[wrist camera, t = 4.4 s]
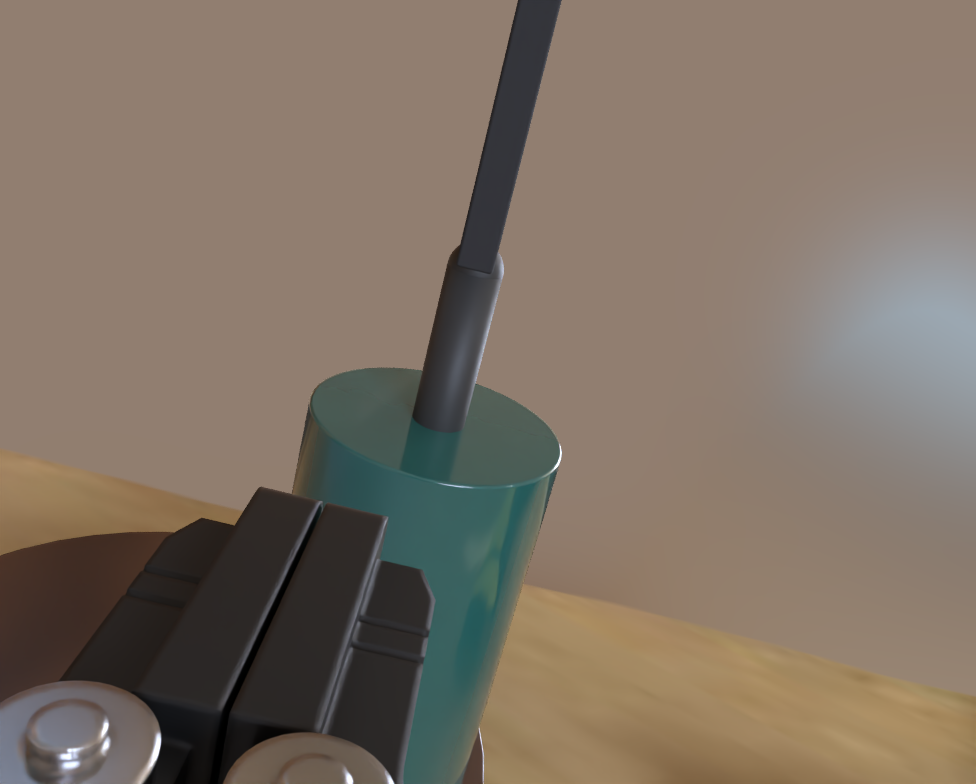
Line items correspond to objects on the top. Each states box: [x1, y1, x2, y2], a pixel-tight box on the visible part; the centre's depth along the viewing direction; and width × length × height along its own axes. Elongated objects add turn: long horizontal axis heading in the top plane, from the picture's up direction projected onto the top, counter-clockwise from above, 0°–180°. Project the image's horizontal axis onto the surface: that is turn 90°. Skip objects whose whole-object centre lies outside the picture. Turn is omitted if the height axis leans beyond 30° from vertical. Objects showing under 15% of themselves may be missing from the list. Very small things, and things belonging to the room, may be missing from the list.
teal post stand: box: [0, 0, 562, 784], centre depth 21 cm, size 17×17×20 cm
